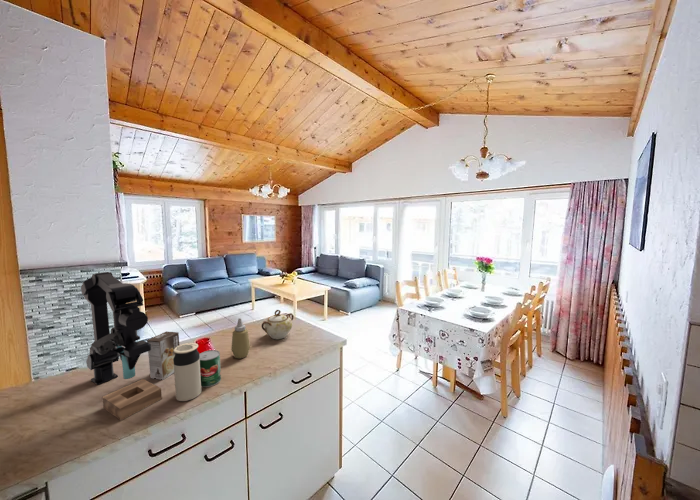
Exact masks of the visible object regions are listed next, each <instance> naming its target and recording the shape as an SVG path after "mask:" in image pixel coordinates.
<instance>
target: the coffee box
mask: <svg viewBox="0 0 700 500" xmlns="http://www.w3.org/2000/svg"><path fill="white" fill-rule="evenodd" d="M146 342H148V343H150V344H151V350H150V351H148V364H149V366H148V367H149V376H150V379H154V378H156V379H155V380H161V379H162V381H163V380H165V379H166V378H168V377H170V376H171V375H172V374H173V375H174V361H173V358H174V356H175V352H174V349H175V348H176V347H177V346H179V345H180V336H179V332H177V331H164V332H162V333H160V334H158V335H156V336H153V337H151V338H149V339H147V340H146Z"/></svg>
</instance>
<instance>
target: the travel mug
mask: <svg viewBox="0 0 700 500" xmlns="http://www.w3.org/2000/svg"><path fill="white" fill-rule="evenodd" d="M198 348H199V344H198V343H195V342H186V343H183V344H182V343H181V344H179V346H177V347H176V348H175V349H174V352H175V356H174V358H173V361H174V373H173V375H174V387H175V388H174V389H175V399H176V400H177V401H180V402H186V401H191V400H193V399H195V398H196V397H198V396H199V395H200V394H201V393H202V387H201V375H200V356H199V354H200V352H199V350H198Z"/></svg>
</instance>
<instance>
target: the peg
mask: <svg viewBox="0 0 700 500" xmlns="http://www.w3.org/2000/svg"><path fill="white" fill-rule="evenodd" d="M123 352H124V351H122V352H121V353H123ZM121 356H122V361H121V363H122V365H121V366H122V376H123V378H122V379H124V380H129V379H133V378H135V377H136V366H135V367H134V369H132V370H129V367H128V363H127V360H126V357H125V356H123V355H121Z"/></svg>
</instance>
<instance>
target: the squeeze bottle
mask: <svg viewBox="0 0 700 500" xmlns="http://www.w3.org/2000/svg"><path fill="white" fill-rule="evenodd" d="M231 338H232V339H231V347H230V348H231V349H230V350H231V352H232V355H233V356H234V358H235V359H244V358H246V357H248V355H249V352H250V350H251V349H250V348H251V344H250V338H249V330H248V329H247V328H246V325H245V324H243V320H242V318H241V317H238V319H237V324H236V325H234V330H233V331H232V337H231Z"/></svg>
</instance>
